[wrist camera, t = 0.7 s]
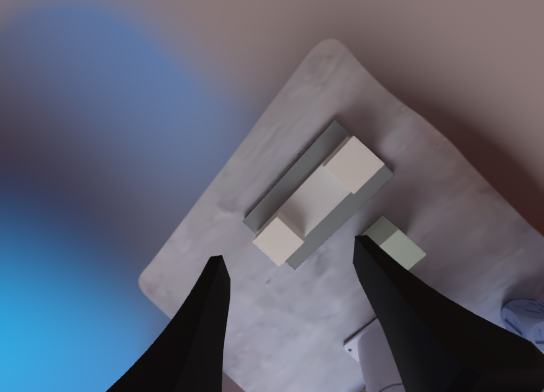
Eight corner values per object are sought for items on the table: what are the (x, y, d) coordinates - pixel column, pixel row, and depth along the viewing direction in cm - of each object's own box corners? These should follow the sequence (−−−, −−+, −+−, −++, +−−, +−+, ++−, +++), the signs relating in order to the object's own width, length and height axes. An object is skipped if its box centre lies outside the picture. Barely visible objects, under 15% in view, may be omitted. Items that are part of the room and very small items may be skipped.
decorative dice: (498, 300, 31) (526, 321, 27) (535, 296, 30) (568, 317, 26) (502, 328, 31) (529, 353, 27) (538, 325, 30) (571, 350, 26)
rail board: (392, 174, 30) (407, 177, 25) (295, 266, 34) (292, 284, 30) (334, 120, 30) (338, 114, 25) (244, 219, 34) (233, 229, 30)
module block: (405, 236, 31) (426, 254, 25) (376, 261, 32) (390, 284, 26) (382, 215, 31) (398, 229, 25) (354, 240, 32) (363, 259, 26)
